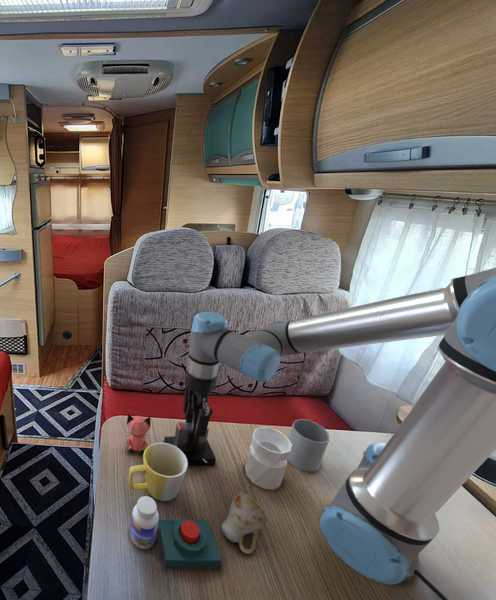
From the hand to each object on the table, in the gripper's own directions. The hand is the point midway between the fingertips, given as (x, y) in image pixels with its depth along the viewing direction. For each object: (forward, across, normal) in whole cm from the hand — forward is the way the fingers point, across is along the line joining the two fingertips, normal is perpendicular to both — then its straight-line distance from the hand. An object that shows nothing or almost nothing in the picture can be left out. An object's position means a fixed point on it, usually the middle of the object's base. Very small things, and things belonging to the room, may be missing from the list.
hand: (190, 444), depth 90 cm
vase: (+4, -8, -17) cm, 19 cm away
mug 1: (+4, -10, +12) cm, 16 cm away
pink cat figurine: (+4, +2, +14) cm, 15 cm away
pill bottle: (+4, -21, +17) cm, 28 cm away
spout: (+1, 0, 0) cm, 1 cm away
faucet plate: (+4, 0, 0) cm, 4 cm away
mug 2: (+4, -21, -5) cm, 22 cm away
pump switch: (+4, -24, +8) cm, 25 cm away
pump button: (0, -24, +8) cm, 25 cm away
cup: (+4, -3, -31) cm, 31 cm away
